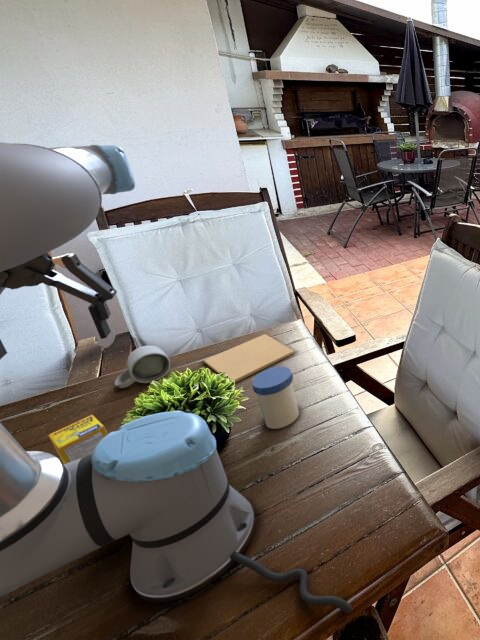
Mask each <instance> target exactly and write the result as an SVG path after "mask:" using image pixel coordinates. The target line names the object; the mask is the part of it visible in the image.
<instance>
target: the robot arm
mask: <svg viewBox="0 0 480 640" xmlns="http://www.w3.org/2000/svg"><path fill="white" fill-rule="evenodd" d="M135 187H136V182H135V177H134V174H133V169H132V167H131V165H130V161H129V159H128V157H127V154H126V152H125V150H124V149H123V148H122V147H121V146H118V145H113V144H111V145H109V144H108V145H99V144H91V145H79V146H77V145H76V146H58V147H57V146H56V147H45V146H40V145H36V144H29V143H15V142H14V143H11V142H0V295H2V294H3V292H4V291H5V290H6V289H10V290H17V289H21V288H23V287H36V286H39V285H40V284H44V285H45V286H47V287H48V286H49V287H54V288H56V289H58V290H60V291H62V292H65V293H67V294H69V295H71V296H73V297H76V298H78V299H80V300H83V301H85V302H87V303H89V304H90V305H89V306H87V309H88V312H89V314H90V316H91V318H92V321H93V323H94V326H95V329H96V330H97V333H98V336H99V338H100V339H101V340H102V339H103V340H104V339H107V338H108V337H109V335H110V333H111V328H110V326H109V323H108V321H107V320H109V318H111V310H110V308H109V305H108V303H107V301H110V300H112V299H114V297H115V296H116V295H117V293H118V291H117V289H115V288H114V287H113V286H111V284H109V283H108V282H106V281H105V280H104V279H103V278H101V277H100V276H99V275H97V274H96V273H95V272H94V271H92V270H91V269H90V268H88V266H86V265H84V264H83V263H82V262H81V260H80V258H79V257H78V255H77V253H75V252H74V251H73V252H72V251H70V252H68V253H66V254H63V255H58V256H54V257H53V256H52V255H50V254H49V252H52V251H54V250H56V249H58V248H60V247H62V246H63V245H65V244H66V243H69V242H70V241H71V240H74V239H75V238H77V237H78V236H80V235H81V234H82V233H83V232H85V231H86V230H87V229H88V228H89V227H90V226H91V225H92V224H93V223H94V221H95V220H96V219H97V217H98V215H99V213H100V211H101V208H102V203H103V202H102V201H103V195H117V194H119V193H127V192H132V191H133V190H135V189H136V188H135ZM56 265H57V266H60V267H61V268H63V269H66V270H67V271H68V272H69V273H70V274H72V275H73V276H74V277H76V278H77V279H78V280H80V281H81V282H83V283H84V284H85V285H83V284H81V283H79V282H77V281H75V280H73V279H71V278H68V277H66V276H65V275H64V274H62V273H61V272H59V271H57V270H54V268H55V266H56ZM87 286H88V287H87ZM7 354H8V351H7V349H6V348H5V345H4V344H3V342H2V339H0V360H2V358H4V357H5V356H6V355H7ZM226 474H227V473H226V471H225V469H224V466H223V463H222V461H221V458H220V455H219V453H218V450H217V440H216V437H215V436H214V435H213V434H212V432H211V430H210V428H209V425H208V423H207V422H206V420H205V419H204V418H202V417H201V416H200V415H198V414H196V413H192V412H186V411H182V410H172V411H163V412H158V413H152V414H149V415H145V416H142V417H139V418H136V419H134V420H132V421H129V422H127V423H125V424H123V425H121V426H119V428H118V430H116V431H115V430H114V431H111V432H109V433H108V435H107V436H106V437H104V438H103V439H102V440H101V441H100V442H99V443H98V444H97V446H96V447H95V449H94V451H93V454H91V455H89V456H86V457H83V458H80V459H78V460H75V461H72V462H69V463H67V464H63V462H62V460H61V459H59V458H58V457H57V456H55V455H54V454H51V453H49V452H46V451H40V450H39V451H38V450H28V451H26V450H25V449H24V447H22V446H21V444H20V443H19V442H18V441H17V440H16V439H15V437H14V436H13V435H12V434H11V433H10V432H9V431H8V429H7V428H6V427H5V426H4V425H3V423H1V422H0V599H1V598H2V597H5V596H6V595H9V594H10V593H11V592H12V591H15V590H16V589H19V588H21V587H23V586H25V585H27V584H29V583H31V582H33V581H35V580H37V579H40V578H41V577H43V576H45V575H48V574H49V573H51V572H55V571H56V570H57V569H60V568H61V567H62V568H63V567H64V566H66V565H68V564H70V563H72V562H74V561H76V560H78V559H80V558H82V557H84V556H87V555H88V554H91V553H93V552H95V551H96V550H98V549H101V548H102V547H105V546H107V545H110V544H111V543H113V542H116V541H117V540H119V539H121V538H124V537H126V536H128V535H129V536H130V538H131V540H132V548H131V558H130V569H129V570H130V571H129V575H130V582H131V586H132V587H133V590H134V591H135V593H136V594H137V596H138V597H139V598H140V599H142V600H143V601H146V602H149V603H153V604H164V603H170V602H174V601H175V602H176V601H178V600H181V599H184V598H186V597H189V596H191V595H193V594H195V593H198V592H199V591H201V590H203V589H205V588H206V587H207V586H209V585H211V584H212V583H214V582H215V581H217V579H218V578H220V577H221V576H222V575H224V574H225V573H226V572H227V571H229V570H230V568H232V566H233V565H234V564H236V563H238V564H240V565H242V566H244V567H246V568H248V569H250V570H252V571H254V572H256V573H257V574H258V575H260V576H261V577H263V578H264V579H266V580H268V581H270V582H275V583H283V582H286V581H289V580H291V579H294V578H299V580H300V581H299V590H298V591H299V597H300V599H301V600H302V601H303V602H304V603H306V604H308V605H311V606H331V607H336V608H338V609H340V610H341V611H342V612H343V613H345V614H349V613H351V612H352V610H353V607H352V605H351V604H350V603H349V602H347V601H346V600H345V599H343V598H341V597H340V596H335V595H313V594H311V593H309V591H308V582H309V581H308V580H309V576H308V573H307V572H306V571H305V570H304V569H303V568H294V569H292V570H289V571H287V572H283V573H278V572H275V571H272V570H270V569H269V568H267V567H266V566H264V565H263V564H261V563H260V562H258V561H256V560H254V559H252V558H250V557H248V556H246V555H243V553H244V552H245V550H246V549H247V548H248V546H249V545H250V542H251V541H252V539H253V536H254V533H255V528H256V522H257V520H256V514H255V512H254V508H253V506H252V504H251V503H250V501H249V500H248V499H247V497H245V496H243V494H241V493H240V492H239V491H237V490H236V488H234V487H233V486H231V484H230V483H229V480H228V476H227V475H226Z"/></svg>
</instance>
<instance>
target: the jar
mask: <svg viewBox="0 0 480 640" xmlns="http://www.w3.org/2000/svg"><path fill="white" fill-rule="evenodd" d="M256 395H257V399H258V402H259V406H260V409H261V413H262V416H263V420H264V423H265V426H266V427H267V428H268V429H272V430H276V429H282V428H286V427H287V426H289V425H291V424H293V423H294V422H295V421H296V420H297V419H298V417H299V415H300V411H299V406H298V401H297V397H296V394H295V389H294V385H293V382H292V383H291V384H290V385H289V386H288V387H287V388H285V389H283V390H282V391H280V392H277V393H274V394H271V395H259V394H256Z"/></svg>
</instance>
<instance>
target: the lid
mask: <svg viewBox="0 0 480 640" xmlns="http://www.w3.org/2000/svg"><path fill="white" fill-rule="evenodd" d="M293 381H294V375H293V372H292V370H291V368H289V367H288V366H281V365H280V366H274V367H270V368H267V369H265V370H263V371H261V372H259V373H258V374H256V375H255V376H254V377H253V379H252V381H251V384H252V385H251V386H252V390H253V392H254V393H255V394H256V395H257V394H259V395H271V394H274V393H277V392H280V391H282V390H283V389H285V388H287V387H288V386H289V385H290V384H291V383H292V384H293Z"/></svg>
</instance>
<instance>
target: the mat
mask: <svg viewBox="0 0 480 640" xmlns="http://www.w3.org/2000/svg"><path fill="white" fill-rule="evenodd" d="M294 354H295V350H294V349H292V348H290V347H288V346H287V345H285V344H283V343H282V342H280V341H278V340H276V339H275V338H273V337H272V336H270V335H268V334H266V333H264V334H261V335H259V336H257V337H255V338H253V339H250V340H248V341H246V342H243V343H241V344H238V345H236V346H233V347H231V348H229V349H227V350H225V351H222V352H220V353H217V354H215V355H213V356H211V357H208V358H206V359H204V360H203V363H204V364H205V365H207V366H208V367H209V368H211V369H212V370H213V371H214V372H216V373H217V374H218V373H220V372H225V373H226V374H227V376H228V378H230V379H232V380H235V383H237V382H239V381H241V380H243V379H245V378H248V377H249V376H252V375H253V374H256V373H258V372H260V371H261V370H264V369H266V368H268V367H269V366H272V365H274V364H275V363H278V362H279V361H280V362H281V361H282V360H284V359H286V358H288V357H290V356H292V355H294Z"/></svg>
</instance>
